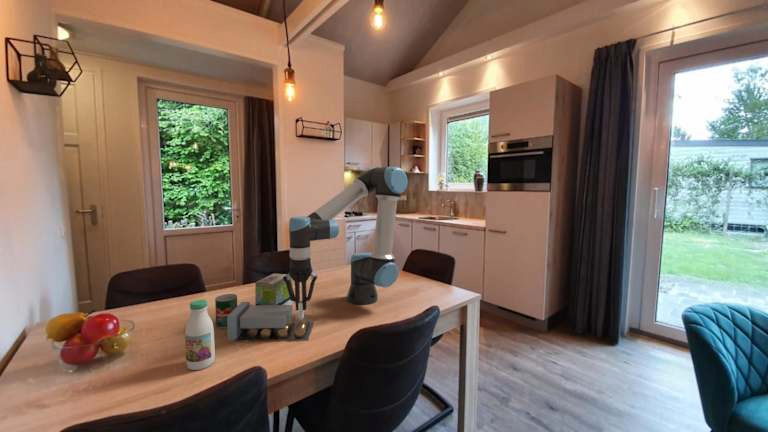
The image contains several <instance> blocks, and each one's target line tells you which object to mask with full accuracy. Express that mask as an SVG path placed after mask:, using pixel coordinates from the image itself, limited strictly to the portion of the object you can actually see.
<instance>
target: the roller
mask: <svg viewBox="0 0 768 432" xmlns="http://www.w3.org/2000/svg"><path fill="white" fill-rule="evenodd" d="M260 329H261V328H250V329H249V331H248V334H249V335H250V336H252V337H254V336H256V335H257V333H258V332H259V330H260Z"/></svg>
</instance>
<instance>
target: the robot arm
mask: <svg viewBox="0 0 768 432" xmlns="http://www.w3.org/2000/svg"><path fill="white" fill-rule="evenodd" d="M407 187H408V177H407V174H406V172H405V171H404V170H403V169H402V168H401V167H398V166H383V167H377V166H376V167H373V168H371V169H368V170H367V171H365V172H363V174H361V175H359V176H358V177H357V178H355V179H354V180H353V182H352V184H350V185H349V186H348V187H346V188H345V189H343V190H342V191H341V192H339V193H338V194H337V195H335V196H334V197H332V198H330V199H329V200H328V201H327V202H326V203H324V204H322V206H320V207H318V208H317V209H316V210H314V211H313V212H311V213H310V214H309V215H307V216H292V217H290V218H289V221H288V222H289V224H288V234H289V235H288V236H289V258H290V259H289V271H288V274H287V273H286V275H285V276H284V277H283V280H284V281H285V282H286V286H287V289H288V293H289V296H290V300H291V301H292V302H294V303H295V311H298V312H297V313H298V320H299V321H300V319H303V317H304V314H305V311H306V310H307V302H309V301H310V300H311V299H312V296H313V293H314V287H315V283H316V281H317V279H318V274H315V273H313V270H312V268H311V267H312V266H311V258H310V257H311V242H313V241H322V240H331V239H335V238H338V236H339V235H340V234H339V233H340V226H339V225H340V224H339V223H338V221H337V220H335V218H337V216H339V215H340V214H342V213H343V212H344V211H346V210H347V209H348V208H349V207H351V206H352V205H354V204H355V203H357V201H359V200H360V199H362V198H367V197H368V196H369V195H371V194H374V193H375V197H376V198H377V209H376V221H375V231H374V241H373V251H372V252H369V251H368V252H366V251H365V252H359V253H358V252H357V253H353V254H352V255H351V258H350V286H349V288H348V291H347V294H346V298H347V299H346V301H347V302H349V303H350V304H353V305H354V304H355V305H370V304H374V303H376V302H377V301H378V300H379V299H378V298H379V294H378V291H377V287H382V288H389V287H391V286H393V284H394V283H396V281H397V280H398V278H399V272H400V271H399V267H398V265H397V264H396V263H395V260H396V259H395V258H396V257H395V255H394V254H393V247H394V235H395V226H396V216H397V205H398V201H400V199H401V198H402V193H404V192H405V190H407ZM290 276H291V278H292V279H293V282H294V288H293V287H292V286H293V283H292V284H291V281H290ZM309 278H310V280H311V281H310V284H309V289H308V292H307V283H308V282H307V281H308V280H309ZM300 284H301V289H300ZM376 286H377V287H376ZM300 295H301V296H300Z"/></svg>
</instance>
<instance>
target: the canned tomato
mask: <svg viewBox="0 0 768 432" xmlns="http://www.w3.org/2000/svg"><path fill="white" fill-rule="evenodd" d="M214 302H215V303H214V304H215V308H214V309H215V327H216V328H218V329H227V316H228V315H229V314H230V313H231V312H232V311H233V310H234V309H235V308H236V307H237V306H238V295H237V294H235V293H225V294H221V295H218V296H216V297H215V298H214Z"/></svg>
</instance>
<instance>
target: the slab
mask: <svg viewBox="0 0 768 432" xmlns="http://www.w3.org/2000/svg"><path fill="white" fill-rule="evenodd" d="M292 315H293V304H292V305H255V304H254V305H253V304H252V305H250V307H249V308H248V309H247V311H246V312H245V313H244V314H243V315H242V316H241V317H240V328H285V327H286V326H287V324H288V322H289V320H290V318H291V316H292Z"/></svg>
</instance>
